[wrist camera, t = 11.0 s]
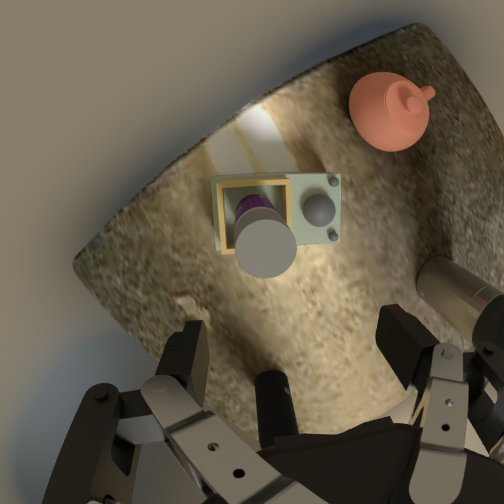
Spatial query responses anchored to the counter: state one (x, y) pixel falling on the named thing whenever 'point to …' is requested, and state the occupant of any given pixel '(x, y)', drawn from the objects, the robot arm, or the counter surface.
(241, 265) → the container
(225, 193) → the grey-green box with tray
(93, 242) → the counter surface
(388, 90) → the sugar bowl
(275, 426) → the wine bottle
